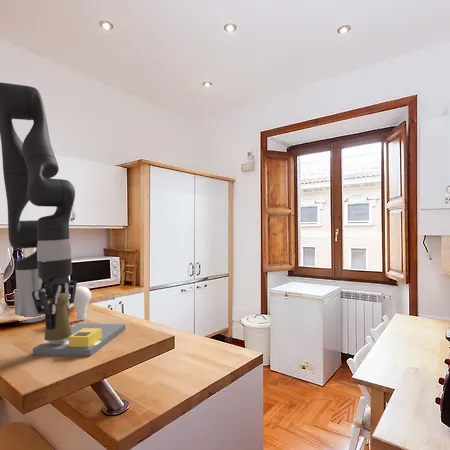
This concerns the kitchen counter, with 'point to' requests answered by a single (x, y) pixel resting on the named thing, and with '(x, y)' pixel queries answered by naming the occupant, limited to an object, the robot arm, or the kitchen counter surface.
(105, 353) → the kitchen counter surface
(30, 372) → the kitchen counter surface
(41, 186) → the robot arm
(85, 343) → the block
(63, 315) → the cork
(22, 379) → the kitchen counter surface
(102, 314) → the kitchen counter surface
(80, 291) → the lightbulb
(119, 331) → the board
